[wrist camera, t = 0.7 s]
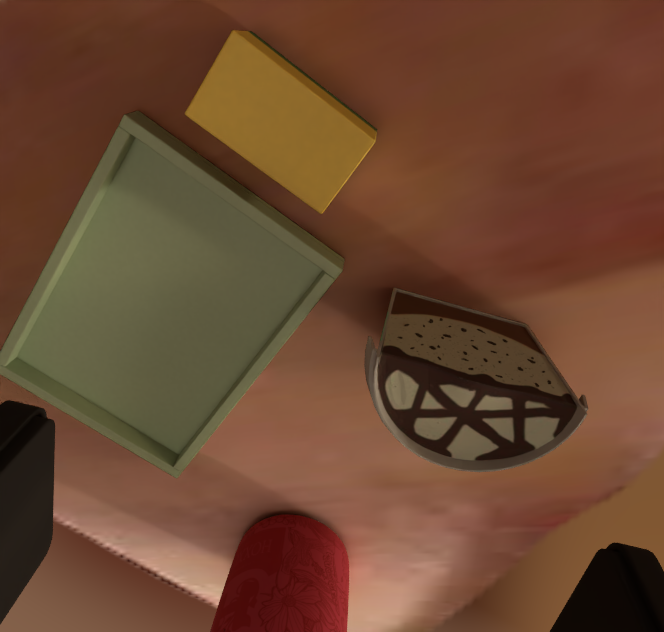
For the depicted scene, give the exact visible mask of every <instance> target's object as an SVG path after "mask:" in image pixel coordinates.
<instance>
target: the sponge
mask: <svg viewBox="0 0 664 632" xmlns="http://www.w3.org/2000/svg"><path fill="white" fill-rule="evenodd" d="M185 115H186V116H187V117H188V118H190V119H191V120H193V121H194V122H195V123H197V124H198V125H199V126H201V127H202V128H204V129H205V130H206V131H208V132H209V133H210V134H212V135H213V136H214V137H216V138H217V139H219V140H220V141H221V142H223V143H224V144H225V145H227V146H228V147H230V148H231V149H232V150H234V151H235V152H236V153H238V154H239V155H240V156H242V157H243V158H245V159H246V160H247V161H249V162H250V163H251V164H253V165H254V166H256V167H257V168H258V169H260V170H261V171H262V172H264V173H265V174H266V175H268V176H269V177H271V178H272V179H273V180H275V181H276V182H277V183H279V184H280V185H282V186H283V187H284V188H286V189H287V190H288V191H290V192H291V193H292V194H294V195H295V196H297V197H298V198H299V199H301V200H302V201H303V202H305V203H306V204H308V205H309V206H310V207H312V208H313V209H314V210H316V211H317V212H318V213H320V214H322V213H323V212H324V211H325V209H326V208H327V207H328V205H329V204H330V203H331V201H332V200H333V199H334V197H335V196H336V195H337V193H338V192H339V190H340V189H341V188H342V186H343V185H344V184H345V182H346V181H347V180H348V178H349V177H350V176H351V174H352V173H353V172H354V170H355V169H356V168H357V166H358V165H359V163H360V162H361V161H362V159H363V158H364V157H365V155H366V154H367V153H368V151H369V150H370V149H371V147H372V146H373V145H374V143H375V141H376V133H377V129H376V128H375V127H373V126H372V125H371V124H369V123H368V122H367V121H366V120H364V119H363V118H362V117H361V116H359V115H358V114H357V113H355V112H354V111H353V110H352V109H350V108H349V107H348V106H346V105H345V104H344V103H343V102H341V101H340V100H339V99H338V98H336V97H335V96H334V95H332V94H331V93H330V92H329V91H327V90H326V89H325V88H323V87H322V86H321V85H320V84H318V83H317V82H316V81H315V80H313V79H312V78H311V77H309V76H308V75H307V74H306V73H304V72H303V71H302V70H300V69H299V68H298V67H297V66H295V65H294V64H293V63H292V62H290V61H289V60H288V59H286V58H285V57H284V56H283V55H281V54H280V53H279V52H277V51H276V50H275V49H274V48H272V47H271V46H270V45H268V44H267V43H266V42H265V41H263V40H262V39H261V38H260V37H258V36H257V35H256V34H254V33H253V32H251V31H240V30H232V31H231V33H230V35H229V37H228V38H227V40H226V42H225V44H224V45H223V47H222V49H221V51H220V52H219V54H218V56H217V58H216V59H215V61H214V63H213V65H212V66H211V68H210V70H209V72H208V73H207V75H206V77H205V79H204V80H203V82H202V84H201V86H200V87H199V89H198V91H197V93H196V94H195V96H194V98H193V100H192V101H191V103H190V105H189V107H188V108H187V110H186V112H185Z"/></svg>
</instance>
